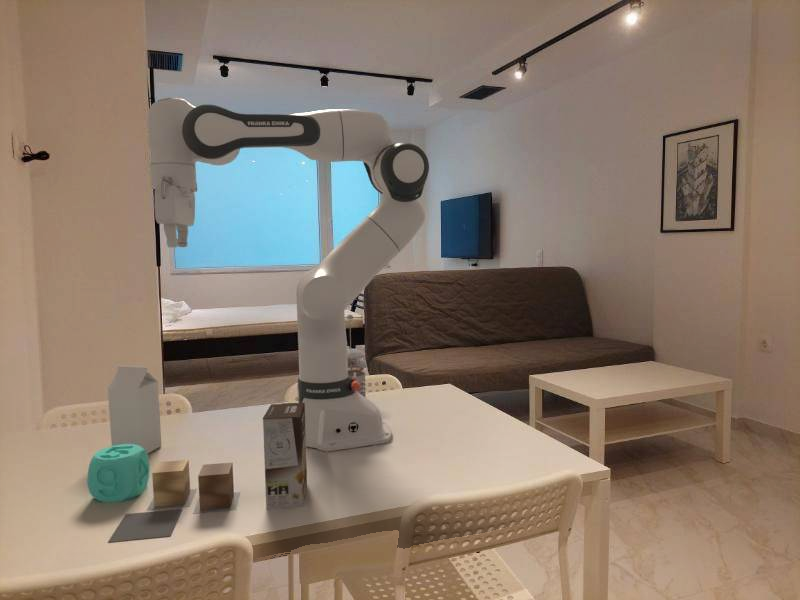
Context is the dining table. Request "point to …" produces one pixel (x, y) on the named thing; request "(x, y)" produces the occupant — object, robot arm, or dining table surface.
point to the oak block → (171, 483)
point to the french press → (358, 369)
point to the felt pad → (146, 525)
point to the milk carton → (134, 408)
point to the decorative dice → (118, 473)
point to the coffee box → (285, 455)
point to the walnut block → (216, 486)
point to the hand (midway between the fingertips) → (177, 247)
